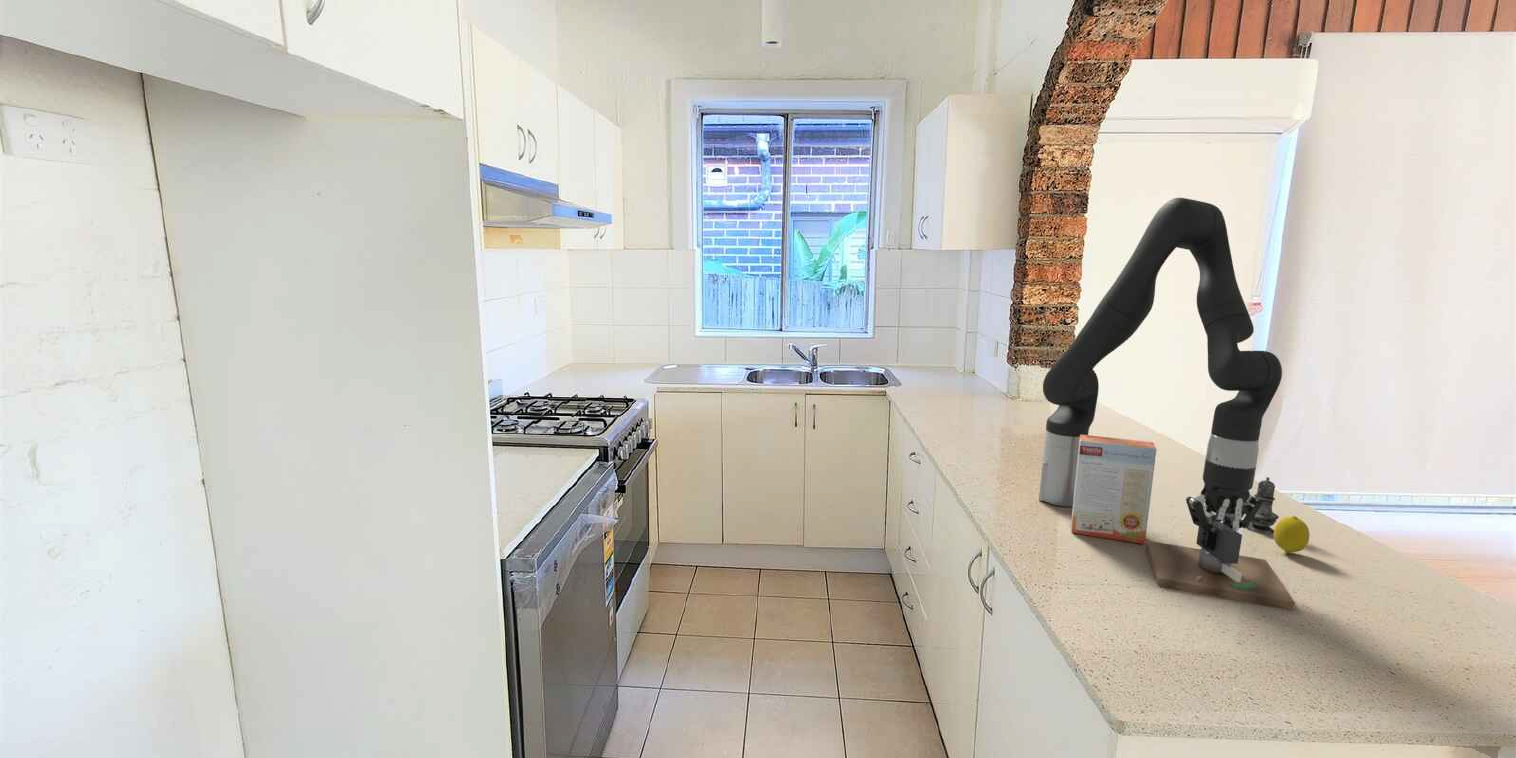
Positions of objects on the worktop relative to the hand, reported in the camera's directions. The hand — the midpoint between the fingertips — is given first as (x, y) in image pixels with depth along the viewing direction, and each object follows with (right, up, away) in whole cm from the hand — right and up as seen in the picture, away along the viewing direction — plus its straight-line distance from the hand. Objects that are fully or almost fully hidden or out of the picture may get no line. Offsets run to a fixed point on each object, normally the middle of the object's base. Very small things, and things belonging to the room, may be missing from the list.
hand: (1216, 548), depth 123 cm
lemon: (+22, -4, +10) cm, 24 cm away
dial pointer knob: (0, -4, -1) cm, 4 cm away
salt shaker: (+25, -2, +22) cm, 33 cm away
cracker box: (-11, -2, +19) cm, 22 cm away
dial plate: (0, -5, +1) cm, 6 cm away
